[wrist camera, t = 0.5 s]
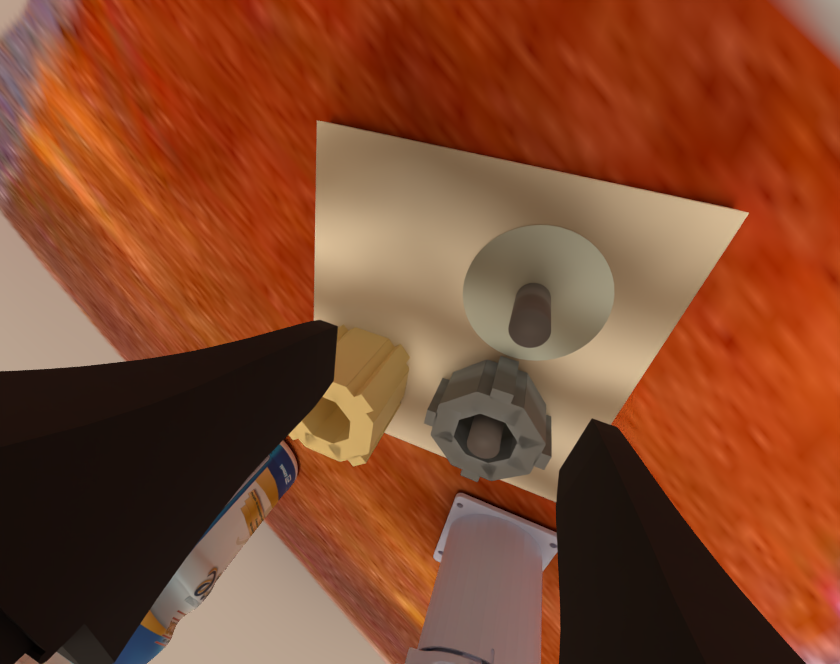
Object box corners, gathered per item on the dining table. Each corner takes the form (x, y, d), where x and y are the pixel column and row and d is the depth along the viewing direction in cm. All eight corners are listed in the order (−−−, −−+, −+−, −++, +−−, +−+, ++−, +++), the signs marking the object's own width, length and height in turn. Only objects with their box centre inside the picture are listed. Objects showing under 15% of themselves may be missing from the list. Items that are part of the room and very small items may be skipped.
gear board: (558, 487, 22) (560, 558, 18) (321, 394, 26) (280, 436, 22) (733, 208, 13) (812, 231, 9) (330, 122, 17) (263, 112, 13)
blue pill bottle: (261, 405, 29) (-132, 744, 12) (318, 476, 31) (47, 852, 14) (213, 427, 33) (-129, 703, 16) (266, 488, 35) (9, 791, 18)
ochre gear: (400, 413, 22) (366, 473, 18) (329, 386, 23) (281, 436, 19) (413, 347, 20) (376, 399, 15) (332, 319, 21) (277, 360, 17)
